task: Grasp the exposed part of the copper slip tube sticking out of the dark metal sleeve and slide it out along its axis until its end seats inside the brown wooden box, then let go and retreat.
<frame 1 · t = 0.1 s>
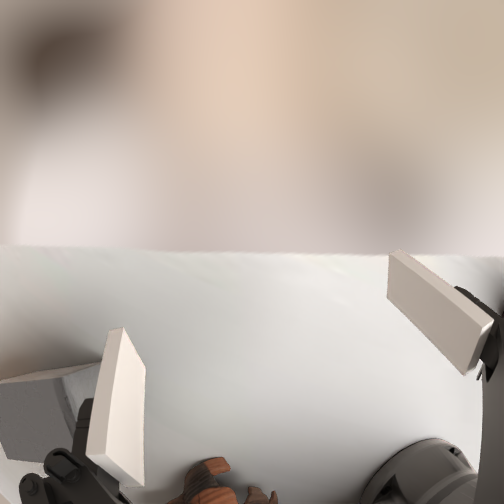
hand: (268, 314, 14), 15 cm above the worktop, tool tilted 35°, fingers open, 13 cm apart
sleeve: (81, 397, 26), on the worktop
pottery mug: (218, 492, 25), on the worktop
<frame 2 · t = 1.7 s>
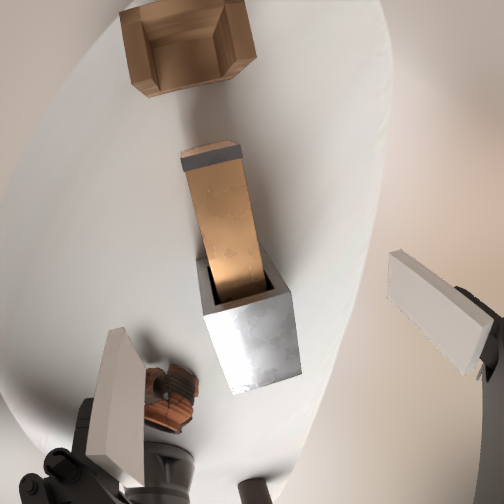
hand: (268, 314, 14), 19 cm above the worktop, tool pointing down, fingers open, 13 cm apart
bottle: (251, 482, 58), on the worktop
sleeve: (237, 290, 35), on the worktop
brown wooden box: (184, 61, 24), on the worktop
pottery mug: (161, 380, 38), on the worktop
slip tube: (232, 260, 27), point 5 cm above the worktop, slide at 0.0 cm
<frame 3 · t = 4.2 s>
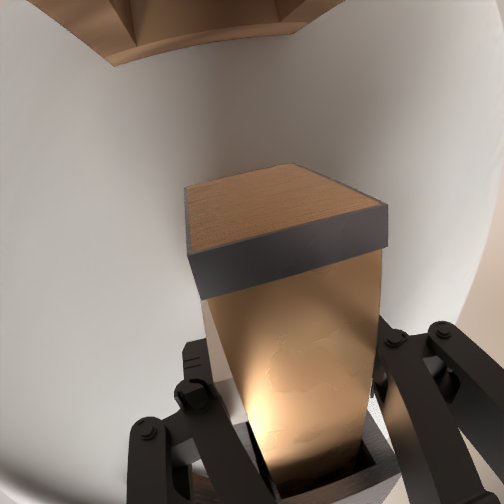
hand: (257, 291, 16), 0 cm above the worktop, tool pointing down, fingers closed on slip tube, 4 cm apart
sleeve: (280, 401, 20), on the worktop
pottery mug: (175, 483, 24), on the worktop
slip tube: (295, 406, 13), point 5 cm above the worktop, slide at 0.0 cm, touching gripper
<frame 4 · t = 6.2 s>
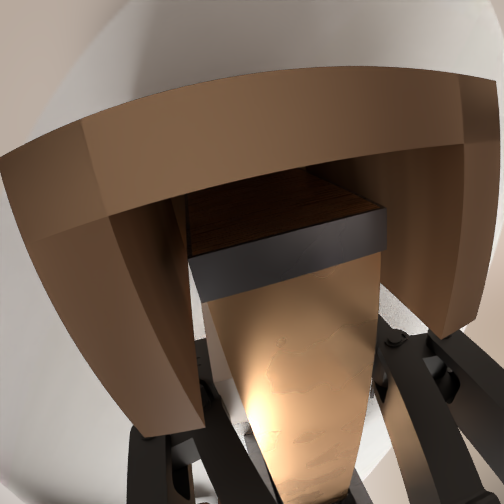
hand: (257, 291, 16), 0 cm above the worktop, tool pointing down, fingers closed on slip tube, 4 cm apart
sleeve: (290, 448, 24), on the worktop
brown wooden box: (230, 167, 13), on the worktop
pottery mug: (207, 503, 28), on the worktop
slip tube: (295, 407, 13), point 5 cm above the worktop, slide at 8.5 cm, touching gripper
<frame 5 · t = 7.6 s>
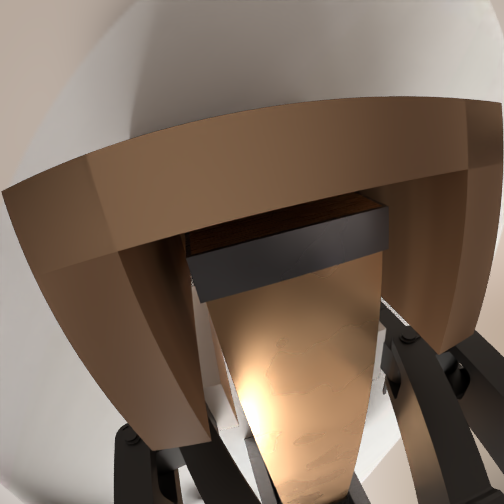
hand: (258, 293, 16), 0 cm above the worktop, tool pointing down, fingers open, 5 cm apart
sleeve: (290, 451, 24), on the worktop
brown wooden box: (232, 177, 13), on the worktop
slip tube: (295, 408, 13), point 5 cm above the worktop, slide at 9.0 cm
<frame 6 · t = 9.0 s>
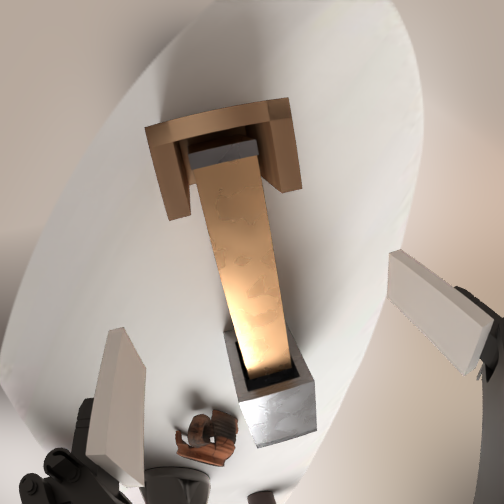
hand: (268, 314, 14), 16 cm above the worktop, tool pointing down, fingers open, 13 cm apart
bottle: (259, 494, 60), on the worktop
sleeve: (260, 354, 36), on the worktop
brown wooden box: (212, 143, 25), on the worktop
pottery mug: (203, 421, 41), on the worktop
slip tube: (244, 266, 25), point 5 cm above the worktop, slide at 9.0 cm
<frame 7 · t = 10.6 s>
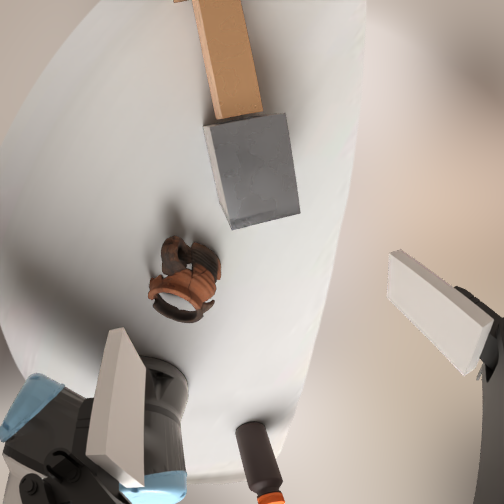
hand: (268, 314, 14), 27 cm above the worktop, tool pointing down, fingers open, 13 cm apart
bottle: (249, 428, 60), on the worktop
sleeve: (238, 159, 37), on the worktop
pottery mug: (183, 265, 41), on the worktop
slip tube: (220, 29, 25), point 5 cm above the worktop, slide at 9.0 cm
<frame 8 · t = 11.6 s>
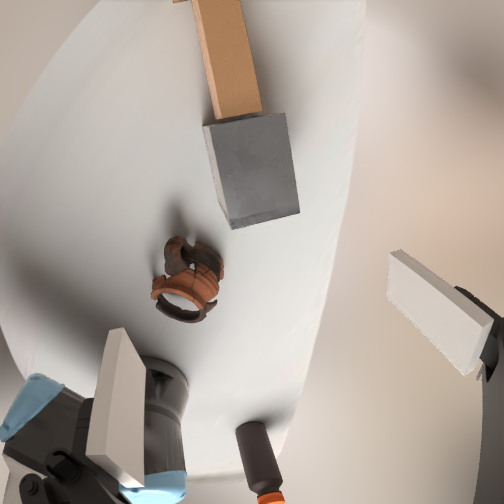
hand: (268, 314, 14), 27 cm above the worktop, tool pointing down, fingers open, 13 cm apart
bottle: (249, 428, 60), on the worktop
sleeve: (238, 158, 37), on the worktop
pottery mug: (185, 265, 41), on the worktop
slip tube: (219, 29, 25), point 5 cm above the worktop, slide at 9.0 cm
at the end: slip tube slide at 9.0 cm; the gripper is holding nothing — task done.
